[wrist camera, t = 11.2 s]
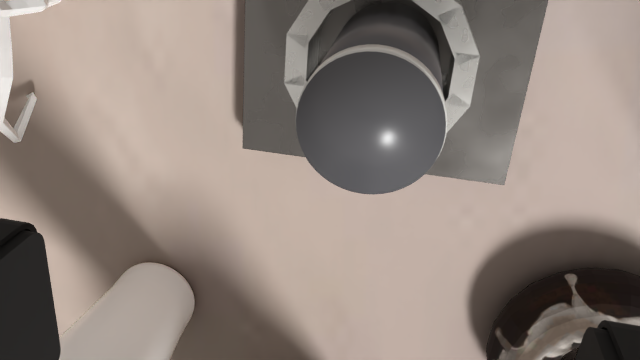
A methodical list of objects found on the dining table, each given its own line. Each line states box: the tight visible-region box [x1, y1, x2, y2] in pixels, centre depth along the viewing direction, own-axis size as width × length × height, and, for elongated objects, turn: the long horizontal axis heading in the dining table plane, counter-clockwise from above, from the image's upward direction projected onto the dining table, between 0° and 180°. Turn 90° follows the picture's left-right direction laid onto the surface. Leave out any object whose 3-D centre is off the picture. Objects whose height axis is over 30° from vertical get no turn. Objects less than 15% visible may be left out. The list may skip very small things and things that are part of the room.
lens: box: [296, 2, 447, 194], centre depth 24 cm, size 5×5×10 cm
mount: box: [243, 0, 548, 185], centre depth 28 cm, size 14×12×4 cm
